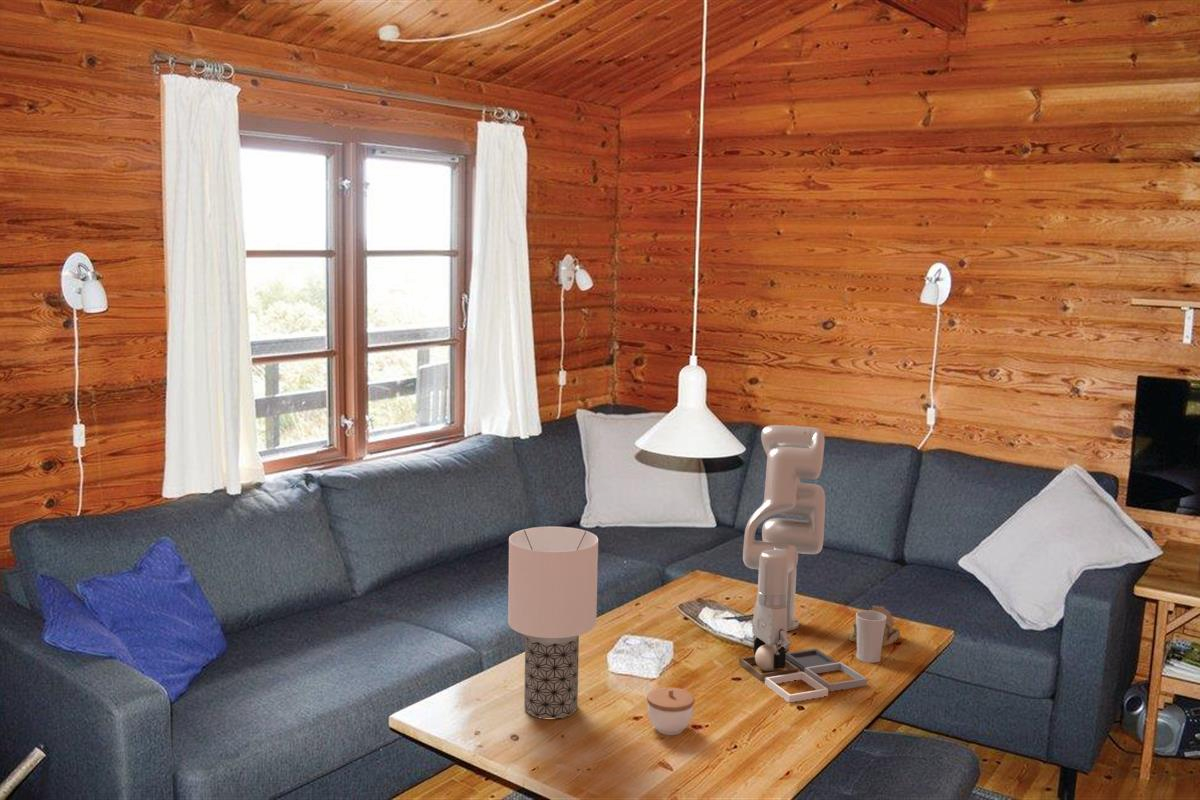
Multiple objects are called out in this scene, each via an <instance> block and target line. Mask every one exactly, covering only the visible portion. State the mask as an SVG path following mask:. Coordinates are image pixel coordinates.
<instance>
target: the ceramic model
mask: <svg viewBox="0 0 1200 800" xmlns="http://www.w3.org/2000/svg"><path fill="white" fill-rule="evenodd" d="M868 610H869V611H876V612H880V613H882V614H884V615H885V616H886V623H885V629H884V635H883V642H882V646H884V647H887V646H889V645H888V644H890V645H892V644H893V642H894V641H895V642H897V641H898V640H897V639H899V637H900V636H901V633H900V629H898V627H897V628H895V627H894V625H895V621H894V618H893V616H892V613H891V612H890V611H889V610H888V609H887V608H886V607H885V606H882V605H881V606H879V605H878V604H875V605H872V608H871V609H868ZM852 627H853V631H852V632H851V633H849V635H850V638H849V637H848V639H849V641H851V642H853V641H854V643H857V626H856V622H854V623H853V624H852ZM896 640H897V641H896ZM895 642H894V643H895ZM891 643H892V644H891ZM886 645H887V646H886Z"/></svg>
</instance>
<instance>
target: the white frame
mask: <svg viewBox="0 0 1200 800" xmlns="http://www.w3.org/2000/svg"><path fill="white" fill-rule="evenodd" d="M794 680H796V681H801V680H802V681H803V682H805V683H806V684H807V685H809V686H810V687H812V688H813V689H815V690H809V691H808V690H807V691H803V692H796V693H792V694H790V693H789V692H788V691H787V690H784V689H783V688H782V687H781V686H779V684H783V683H782V682H784V683H789V682H788V681H790V682H794ZM777 683H778V684H777ZM764 685H765V686H766V685H767V686H766V687H767V688H769V689H770V690H771V689H772V690H771V691H772V692H774V693H775V692H776V693H775V694H777V695H778V696H779V697H781V698H782V699H783V698H784V699H783V700H785V701H786V702H787V703H788V704H790V702H791V703H795V702H796V701H797V702H801V701H802V700H803V701H807V699H808V700H813V699H812V698H814V699H819V697H820V698H825V697H824V696H826V697H828V696H829V691H828V689H827V688H826V687H824V686H823V685H821V684H820V683H819V682H817V681H816V680H814V679H813V678H811V677H810V676H808V675H807V674H806V673H804V672H803V671H799V672H798V673H792V674H785V675H779V676H773V677H766V678H765V681H764Z"/></svg>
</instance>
